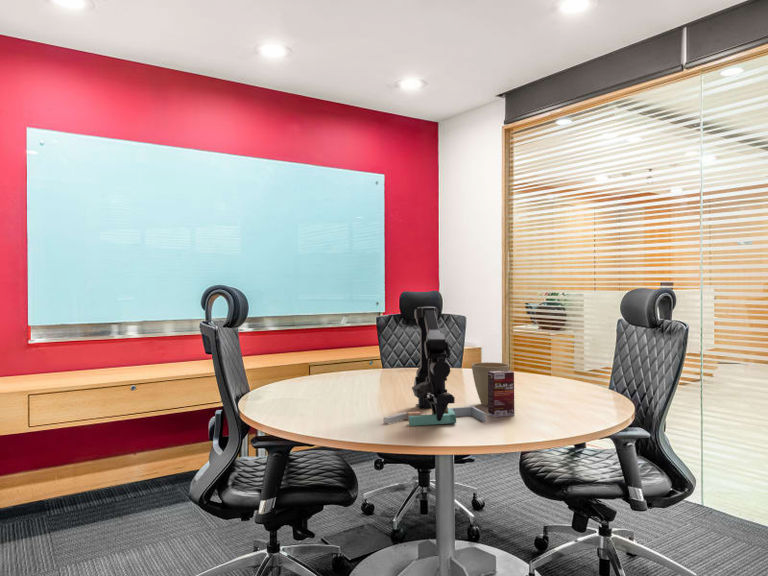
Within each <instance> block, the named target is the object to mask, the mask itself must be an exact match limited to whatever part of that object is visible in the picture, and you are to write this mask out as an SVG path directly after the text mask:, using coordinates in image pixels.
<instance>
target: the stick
mask: <svg viewBox="0 0 768 576" xmlns="http://www.w3.org/2000/svg"><path fill="white" fill-rule="evenodd" d="M404 419H406V420H408V416H407V412H398V413H396V414H391V415H387V416H383V424H384V423H387V424H386V425H390V424H389V423H392V424H394V423H393V422H395V423H398V422H397V421H399V422H402V421H401V420H403V421H405V420H404Z"/></svg>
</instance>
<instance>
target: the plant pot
mask: <svg viewBox="0 0 768 576" xmlns="http://www.w3.org/2000/svg"><path fill="white" fill-rule="evenodd" d="M471 370H472V376H473V381H474V382H473V383H474V385H475V389H476V393H477V396H478V399H479V401H480V402H479V403H481V405H482V406H484V407H488V372H491V371H507V370H508V371H510V364H508V363H504V362H474V363H472V364H471Z"/></svg>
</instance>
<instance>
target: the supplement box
mask: <svg viewBox="0 0 768 576" xmlns="http://www.w3.org/2000/svg"><path fill="white" fill-rule="evenodd" d="M487 414H488V415H489V416H490V417H492V418H499V417H510V416H511V417H512V416H515V371H511V370H509V371H508V370H507V371H491V372H488V406H487Z"/></svg>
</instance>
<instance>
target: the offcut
mask: <svg viewBox="0 0 768 576" xmlns="http://www.w3.org/2000/svg"><path fill="white" fill-rule="evenodd" d="M406 413H407V416H408V419H407V420H408V421H409V416H416V415H422V412H420V411H410V412H406Z"/></svg>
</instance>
